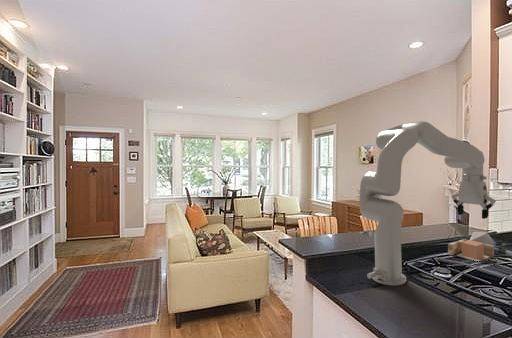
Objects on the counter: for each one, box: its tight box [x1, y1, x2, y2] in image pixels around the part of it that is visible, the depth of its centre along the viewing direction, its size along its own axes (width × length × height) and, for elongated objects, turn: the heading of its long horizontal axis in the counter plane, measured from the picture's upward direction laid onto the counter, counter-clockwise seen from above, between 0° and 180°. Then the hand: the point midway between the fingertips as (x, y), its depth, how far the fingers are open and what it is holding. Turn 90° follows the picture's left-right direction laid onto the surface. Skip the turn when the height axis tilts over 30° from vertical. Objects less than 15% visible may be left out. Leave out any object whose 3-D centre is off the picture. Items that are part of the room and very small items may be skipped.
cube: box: [461, 239, 484, 259], centre depth 131 cm, size 6×6×6 cm
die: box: [469, 231, 495, 246], centre depth 140 cm, size 8×9×10 cm
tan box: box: [447, 238, 495, 263], centre depth 133 cm, size 13×12×5 cm
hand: (472, 216), depth 130 cm, fingers open, 9 cm apart
